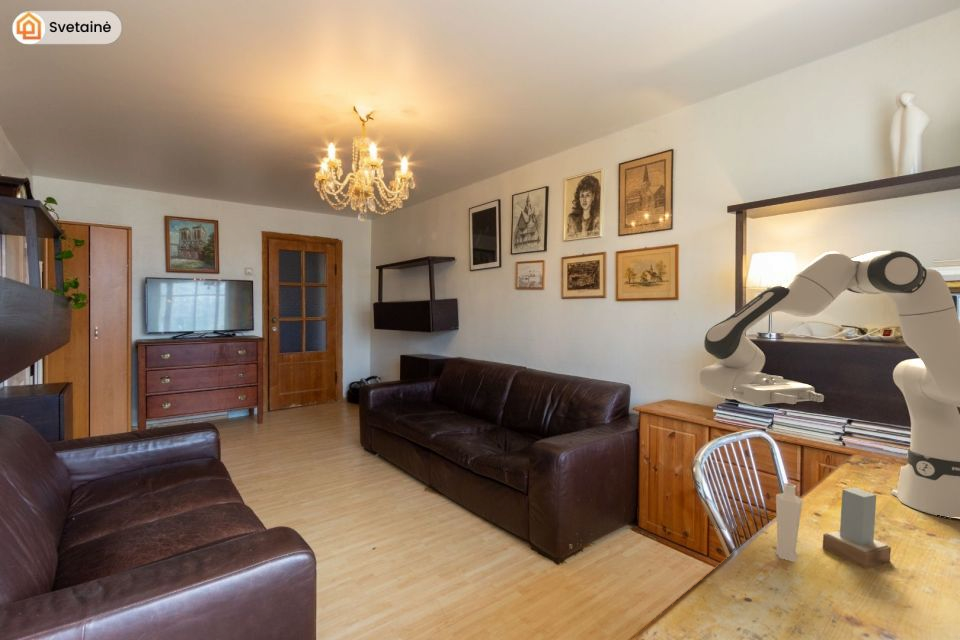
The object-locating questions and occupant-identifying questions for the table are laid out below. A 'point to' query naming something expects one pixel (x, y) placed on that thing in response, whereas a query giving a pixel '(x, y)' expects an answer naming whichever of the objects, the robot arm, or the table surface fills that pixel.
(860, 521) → the grey tall block
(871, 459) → the table surface
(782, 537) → the perfume bottle
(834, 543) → the plinth
